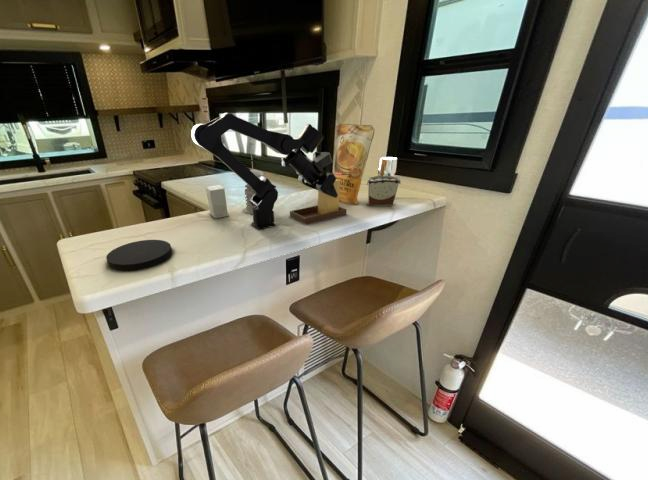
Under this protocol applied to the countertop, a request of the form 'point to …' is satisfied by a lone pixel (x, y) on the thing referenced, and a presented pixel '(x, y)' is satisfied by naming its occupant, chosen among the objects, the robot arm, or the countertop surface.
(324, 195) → the box
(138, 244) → the wireless charger
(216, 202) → the small box
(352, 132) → the pancake mix bag
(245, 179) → the robot arm
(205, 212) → the countertop surface
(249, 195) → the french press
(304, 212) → the tray
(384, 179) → the food container
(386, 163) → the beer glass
